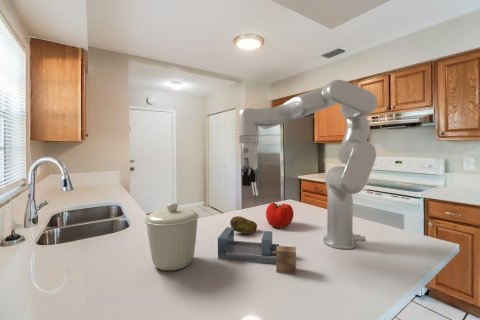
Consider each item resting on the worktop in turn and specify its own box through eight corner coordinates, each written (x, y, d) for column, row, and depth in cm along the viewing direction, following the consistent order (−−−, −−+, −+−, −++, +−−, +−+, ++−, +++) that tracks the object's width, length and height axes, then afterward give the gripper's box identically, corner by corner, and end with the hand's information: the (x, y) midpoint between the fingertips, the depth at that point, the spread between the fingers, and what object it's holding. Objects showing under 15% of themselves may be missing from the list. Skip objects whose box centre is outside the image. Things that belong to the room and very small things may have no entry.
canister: (139, 261, 82) (137, 202, 81) (187, 247, 93) (185, 195, 92) (155, 284, 67) (153, 213, 66) (209, 265, 78) (208, 203, 77)
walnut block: (295, 268, 76) (295, 247, 76) (295, 274, 72) (295, 252, 72) (277, 266, 77) (277, 245, 77) (276, 272, 73) (276, 250, 73)
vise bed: (279, 249, 90) (279, 230, 90) (277, 264, 78) (277, 242, 78) (227, 245, 94) (226, 227, 94) (217, 258, 83) (217, 238, 82)
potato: (259, 235, 105) (258, 218, 104) (230, 236, 104) (230, 219, 103) (256, 229, 113) (256, 213, 113) (229, 230, 112) (229, 214, 112)
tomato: (263, 229, 114) (263, 205, 113) (270, 220, 127) (270, 199, 126) (290, 232, 108) (290, 207, 108) (295, 223, 121) (295, 201, 121)
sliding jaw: (292, 247, 87) (292, 232, 87) (292, 258, 79) (292, 242, 78) (264, 245, 90) (264, 230, 89) (261, 255, 81) (261, 239, 81)
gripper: (254, 139, 82) (254, 187, 83) (261, 141, 99) (262, 181, 99) (233, 140, 84) (234, 187, 85) (244, 141, 101) (245, 180, 101)
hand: (249, 183), depth 92 cm, fingers open, 9 cm apart
